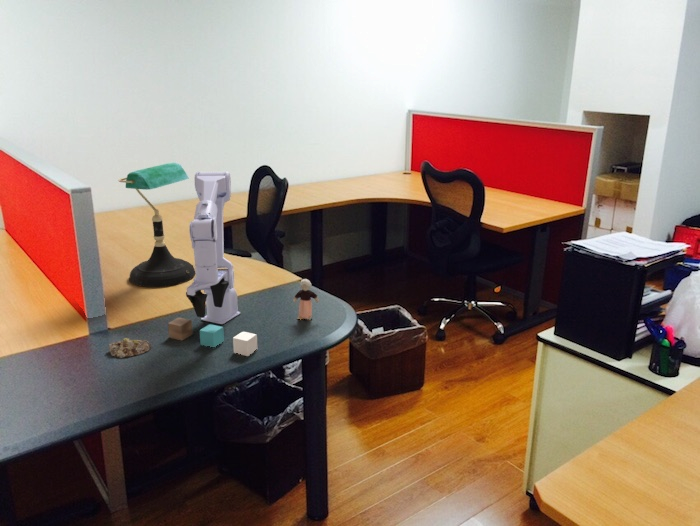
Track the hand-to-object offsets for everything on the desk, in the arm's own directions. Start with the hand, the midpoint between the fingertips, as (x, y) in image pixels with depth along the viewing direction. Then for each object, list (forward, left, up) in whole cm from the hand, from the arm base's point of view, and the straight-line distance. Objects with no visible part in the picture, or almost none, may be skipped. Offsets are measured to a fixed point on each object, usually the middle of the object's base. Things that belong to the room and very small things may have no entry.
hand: (209, 311), depth 158 cm
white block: (0, +11, -10) cm, 15 cm away
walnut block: (0, -11, -10) cm, 14 cm away
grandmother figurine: (-26, +15, -10) cm, 32 cm away
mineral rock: (+13, -17, -10) cm, 24 cm away
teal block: (0, 0, -10) cm, 10 cm away
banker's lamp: (-37, -51, -10) cm, 64 cm away
